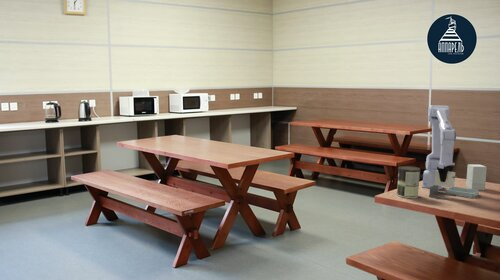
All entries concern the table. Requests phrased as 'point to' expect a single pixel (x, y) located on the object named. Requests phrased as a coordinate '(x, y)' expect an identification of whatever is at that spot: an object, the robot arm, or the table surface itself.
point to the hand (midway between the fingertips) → (444, 180)
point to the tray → (463, 192)
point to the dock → (435, 190)
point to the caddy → (449, 179)
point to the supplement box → (476, 177)
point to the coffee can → (408, 181)
